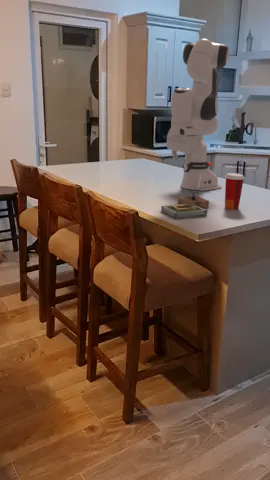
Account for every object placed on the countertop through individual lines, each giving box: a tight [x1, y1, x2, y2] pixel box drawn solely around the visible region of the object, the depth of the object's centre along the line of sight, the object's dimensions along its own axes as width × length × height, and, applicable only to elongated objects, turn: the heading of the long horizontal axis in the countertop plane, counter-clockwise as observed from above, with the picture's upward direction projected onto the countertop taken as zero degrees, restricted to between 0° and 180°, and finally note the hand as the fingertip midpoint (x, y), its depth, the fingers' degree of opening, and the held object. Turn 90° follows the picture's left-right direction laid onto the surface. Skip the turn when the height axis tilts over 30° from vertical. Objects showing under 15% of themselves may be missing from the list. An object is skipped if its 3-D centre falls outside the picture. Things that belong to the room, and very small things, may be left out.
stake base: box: [177, 195, 210, 209], centre depth 195 cm, size 10×10×3 cm
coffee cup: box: [224, 172, 245, 211], centre depth 191 cm, size 8×8×15 cm
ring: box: [171, 204, 197, 212], centre depth 181 cm, size 10×6×2 cm, turn 114°
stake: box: [187, 190, 199, 200], centre depth 194 cm, size 5×1×4 cm, turn 114°
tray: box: [160, 204, 208, 220], centre depth 181 cm, size 15×12×2 cm
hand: (181, 162), depth 186 cm, fingers open, 8 cm apart
